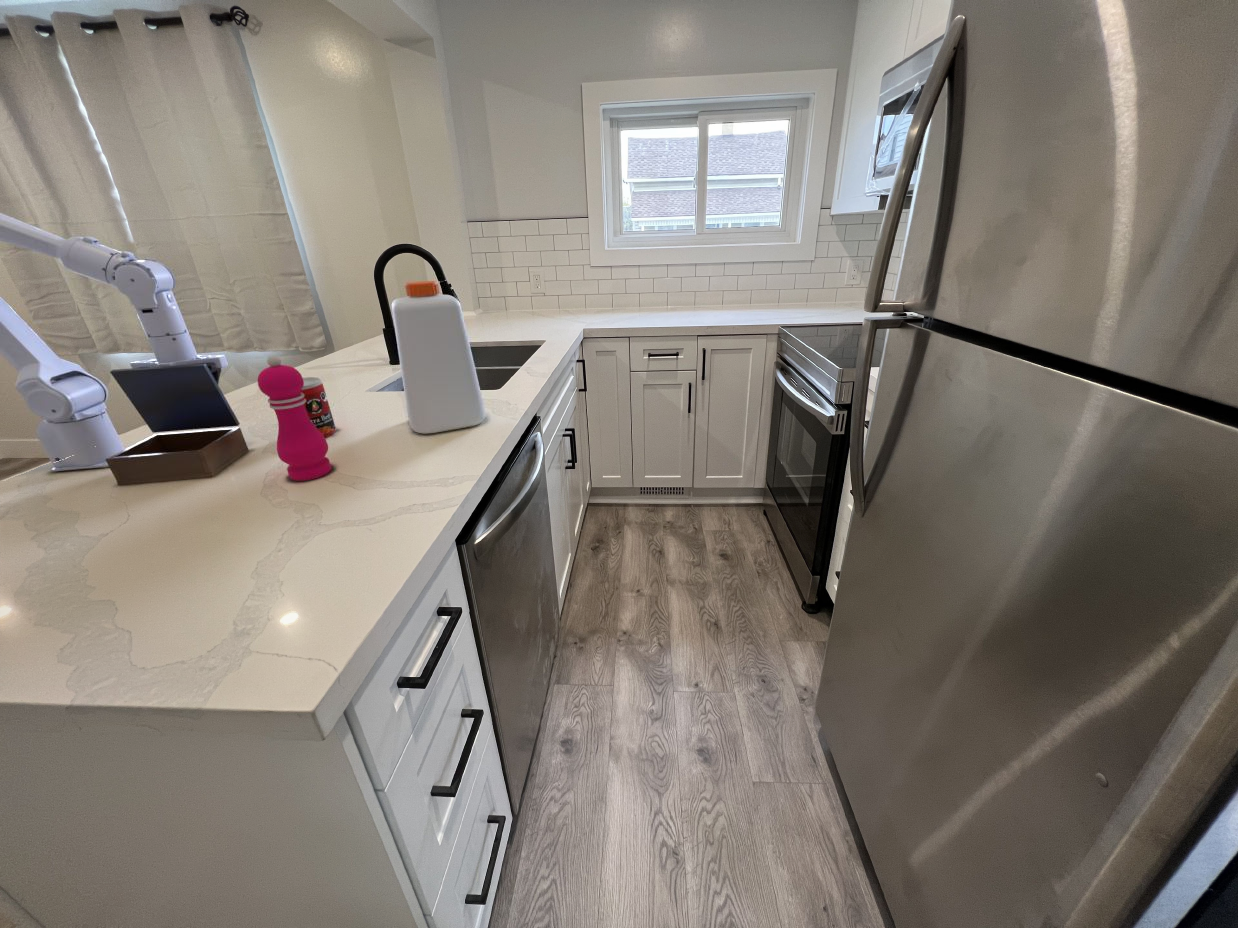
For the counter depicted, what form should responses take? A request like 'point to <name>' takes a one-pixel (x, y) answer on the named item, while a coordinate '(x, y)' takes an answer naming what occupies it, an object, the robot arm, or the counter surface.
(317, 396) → the canned food
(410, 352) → the plastic bottle
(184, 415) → the lid
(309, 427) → the pepper mill
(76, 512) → the counter surface
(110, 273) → the robot arm
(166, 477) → the chest
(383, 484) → the counter surface
